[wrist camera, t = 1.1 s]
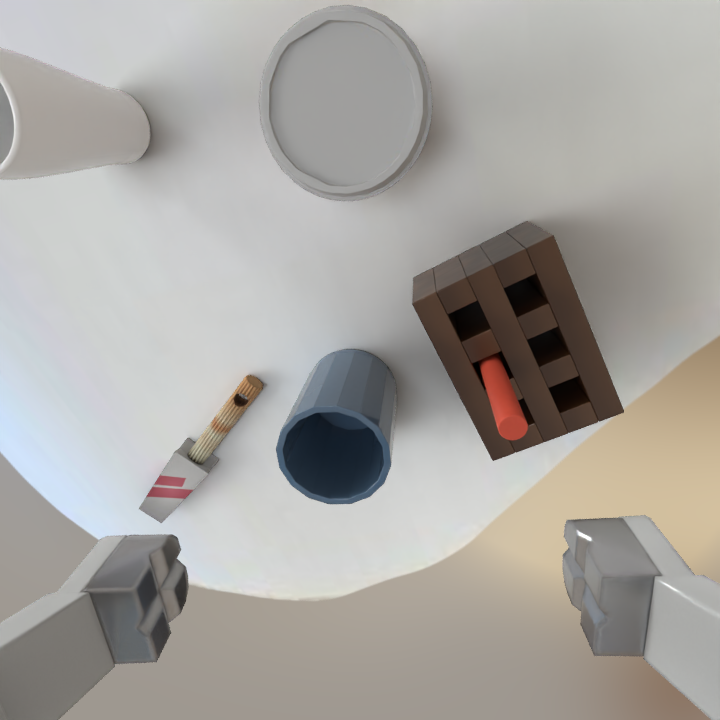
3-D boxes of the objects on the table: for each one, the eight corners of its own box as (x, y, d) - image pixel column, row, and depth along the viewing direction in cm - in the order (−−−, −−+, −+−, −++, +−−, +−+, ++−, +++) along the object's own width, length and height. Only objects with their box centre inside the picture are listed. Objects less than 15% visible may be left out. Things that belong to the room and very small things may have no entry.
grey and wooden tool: (126, 514, 50) (233, 375, 43) (140, 498, 52) (243, 364, 46) (158, 535, 50) (269, 401, 44) (170, 518, 53) (276, 389, 47)
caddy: (527, 220, 38) (553, 235, 31) (588, 368, 42) (624, 412, 35) (413, 277, 41) (411, 303, 33) (480, 411, 45) (492, 461, 37)
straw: (484, 321, 41) (521, 411, 27) (492, 337, 42) (532, 434, 27) (467, 329, 42) (493, 422, 27) (474, 345, 42) (504, 444, 28)
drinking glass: (169, 172, 40) (36, 179, 26) (91, 175, 40) (-79, 183, 27) (153, 76, 37) (-4, 26, 23) (70, 81, 38) (-130, 36, 24)
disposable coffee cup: (436, 53, 35) (445, 3, 23) (419, 195, 38) (420, 210, 27) (303, 44, 35) (251, -9, 24) (299, 185, 39) (252, 194, 28)
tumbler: (370, 334, 43) (355, 388, 33) (412, 409, 45) (410, 481, 35) (292, 371, 45) (255, 433, 35) (335, 441, 47) (313, 518, 37)
